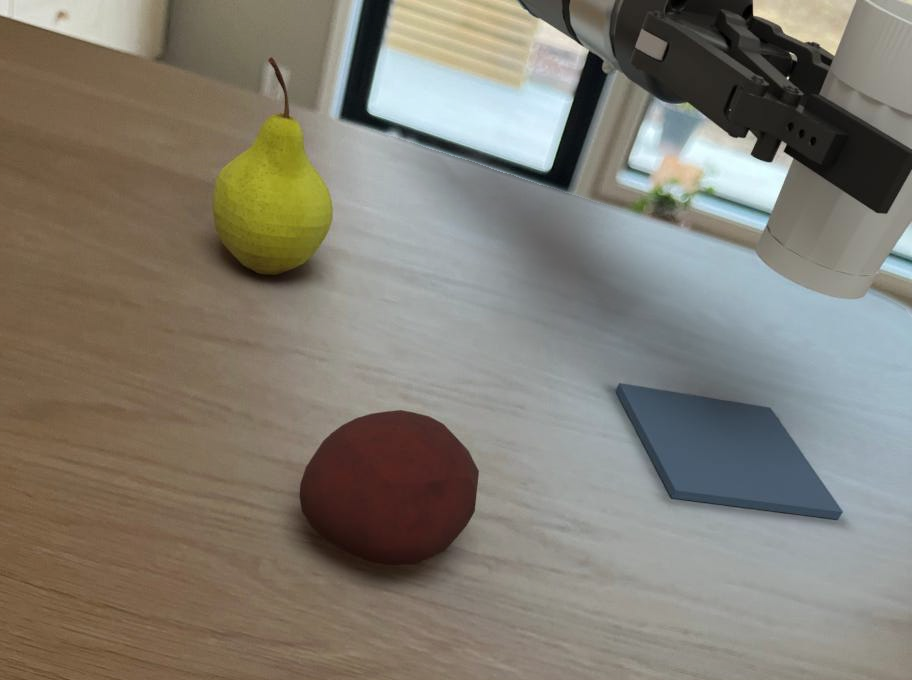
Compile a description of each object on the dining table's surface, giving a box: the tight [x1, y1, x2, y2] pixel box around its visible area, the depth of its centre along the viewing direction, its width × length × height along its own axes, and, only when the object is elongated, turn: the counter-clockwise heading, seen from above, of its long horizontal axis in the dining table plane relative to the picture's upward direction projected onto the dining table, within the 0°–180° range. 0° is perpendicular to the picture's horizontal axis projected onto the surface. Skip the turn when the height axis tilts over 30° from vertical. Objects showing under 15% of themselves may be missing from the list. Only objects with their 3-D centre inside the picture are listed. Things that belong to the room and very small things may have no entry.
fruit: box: [212, 57, 334, 276], centre depth 61 cm, size 7×7×12 cm
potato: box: [299, 409, 480, 567], centre depth 46 cm, size 7×8×6 cm
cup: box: [755, 0, 912, 300], centre depth 52 cm, size 8×8×12 cm
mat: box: [615, 382, 844, 520], centre depth 63 cm, size 11×11×1 cm
